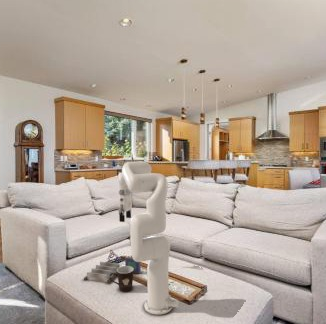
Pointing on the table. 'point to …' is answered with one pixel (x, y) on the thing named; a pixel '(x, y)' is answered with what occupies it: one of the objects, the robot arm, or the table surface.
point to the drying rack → (103, 272)
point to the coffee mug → (124, 278)
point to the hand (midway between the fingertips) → (125, 219)
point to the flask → (133, 264)
